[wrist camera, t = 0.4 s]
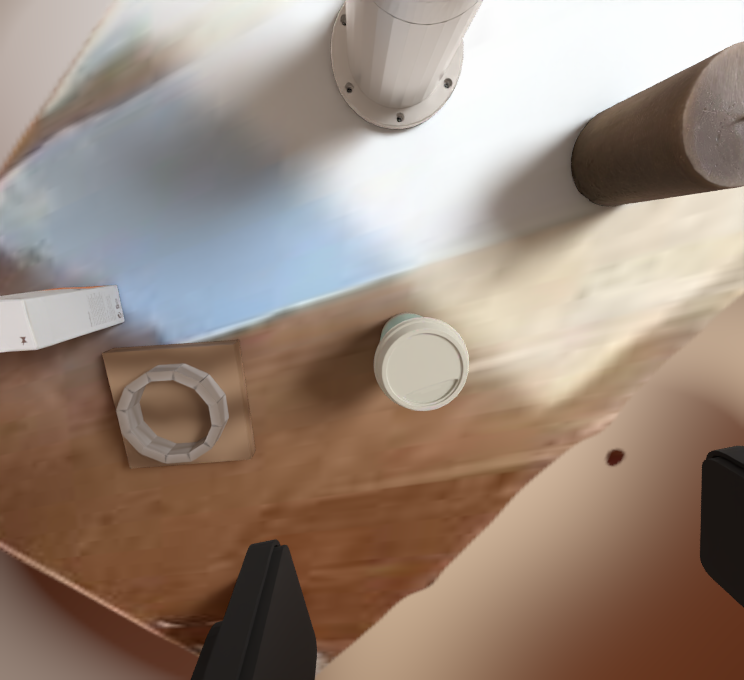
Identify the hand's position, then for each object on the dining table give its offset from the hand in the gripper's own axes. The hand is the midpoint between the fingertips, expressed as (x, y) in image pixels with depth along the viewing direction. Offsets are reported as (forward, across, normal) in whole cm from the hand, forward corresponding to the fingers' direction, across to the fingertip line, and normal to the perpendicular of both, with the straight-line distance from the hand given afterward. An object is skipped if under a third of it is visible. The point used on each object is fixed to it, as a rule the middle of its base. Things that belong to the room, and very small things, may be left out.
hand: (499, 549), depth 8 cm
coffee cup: (+36, -2, +4) cm, 36 cm away
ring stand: (+35, +24, +6) cm, 44 cm away
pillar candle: (+36, -27, -10) cm, 46 cm away
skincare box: (+36, +31, -6) cm, 48 cm away
